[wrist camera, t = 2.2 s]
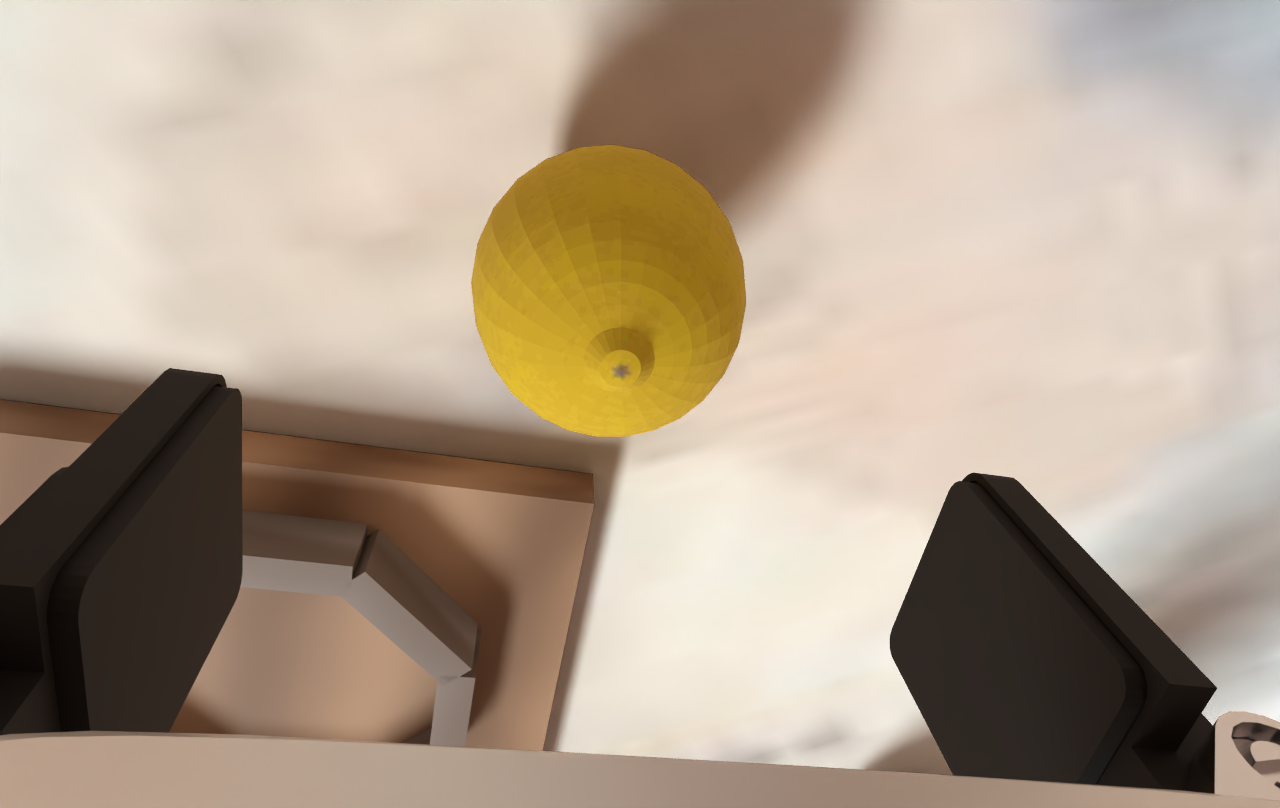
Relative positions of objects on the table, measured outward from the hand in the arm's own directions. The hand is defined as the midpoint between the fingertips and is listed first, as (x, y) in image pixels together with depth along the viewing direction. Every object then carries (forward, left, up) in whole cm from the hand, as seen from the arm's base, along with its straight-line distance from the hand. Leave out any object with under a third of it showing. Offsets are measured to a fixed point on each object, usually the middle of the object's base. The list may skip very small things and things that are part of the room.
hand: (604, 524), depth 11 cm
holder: (+7, +13, -11) cm, 19 cm away
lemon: (0, -1, -12) cm, 12 cm away
